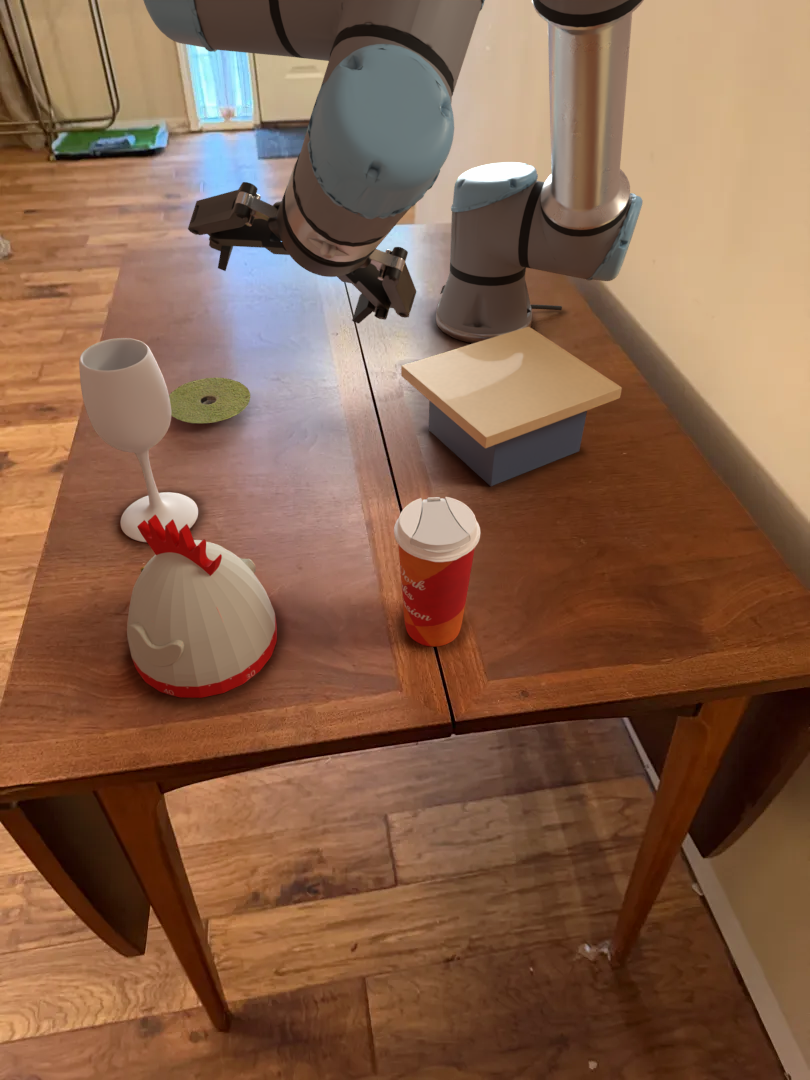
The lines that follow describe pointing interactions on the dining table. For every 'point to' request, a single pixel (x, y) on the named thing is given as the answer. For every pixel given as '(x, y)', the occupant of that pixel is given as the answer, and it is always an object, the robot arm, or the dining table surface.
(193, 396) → the green disc with hole
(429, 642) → the paper cup
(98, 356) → the wineglass
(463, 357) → the stand
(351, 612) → the dining table surface
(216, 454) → the dining table surface
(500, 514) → the dining table surface
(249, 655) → the kitchen timer
